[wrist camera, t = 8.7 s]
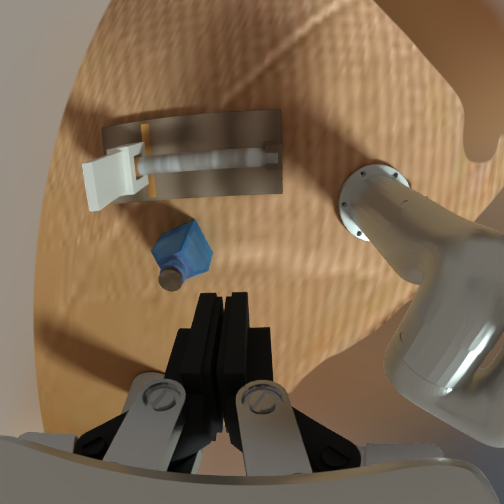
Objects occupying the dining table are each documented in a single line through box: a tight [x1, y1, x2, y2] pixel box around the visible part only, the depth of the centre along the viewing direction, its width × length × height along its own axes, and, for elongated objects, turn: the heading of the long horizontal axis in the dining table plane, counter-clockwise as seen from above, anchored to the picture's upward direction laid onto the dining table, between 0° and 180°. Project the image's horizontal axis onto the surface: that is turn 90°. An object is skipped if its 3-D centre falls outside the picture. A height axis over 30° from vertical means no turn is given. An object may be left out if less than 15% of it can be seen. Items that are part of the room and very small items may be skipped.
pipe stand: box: [102, 110, 283, 204], centre depth 41 cm, size 26×12×8 cm, turn 92°
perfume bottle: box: [151, 220, 213, 291], centre depth 45 cm, size 6×6×12 cm
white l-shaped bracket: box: [82, 142, 149, 211], centre depth 34 cm, size 3×6×14 cm, turn 2°
